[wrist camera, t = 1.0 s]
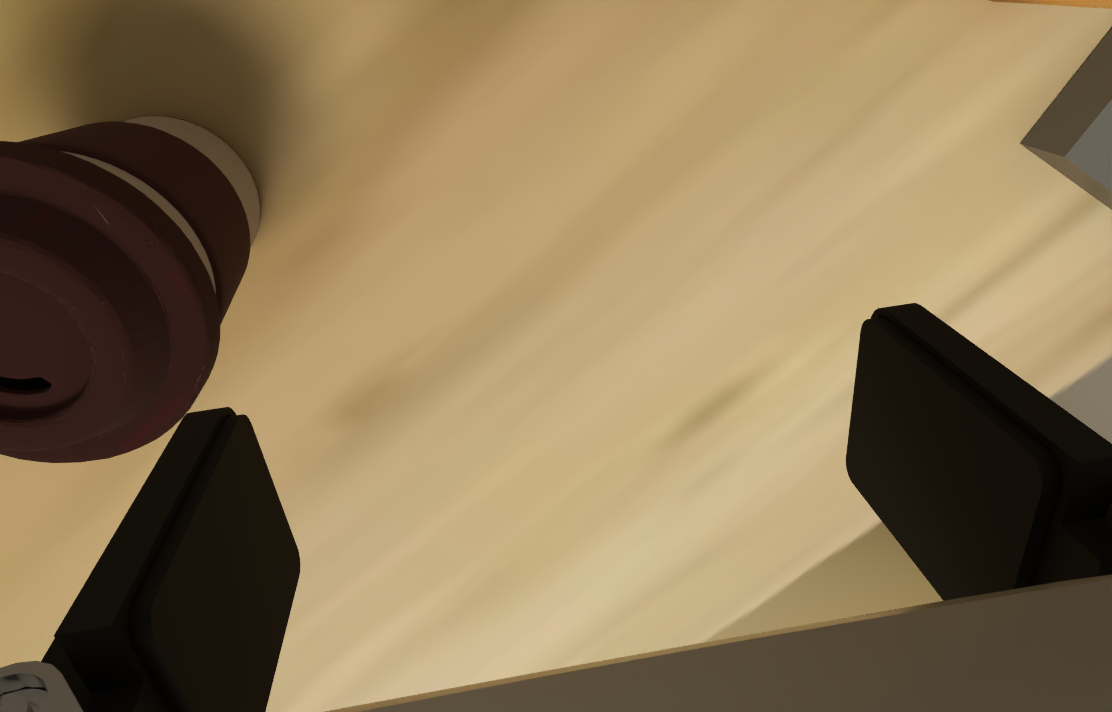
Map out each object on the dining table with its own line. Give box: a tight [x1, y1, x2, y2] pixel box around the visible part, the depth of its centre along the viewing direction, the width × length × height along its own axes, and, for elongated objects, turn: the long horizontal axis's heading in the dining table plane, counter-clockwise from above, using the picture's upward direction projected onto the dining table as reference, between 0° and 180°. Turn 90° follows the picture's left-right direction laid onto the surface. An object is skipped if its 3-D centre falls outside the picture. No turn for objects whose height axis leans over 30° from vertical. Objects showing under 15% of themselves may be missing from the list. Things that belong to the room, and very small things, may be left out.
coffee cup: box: [0, 116, 260, 463], centre depth 26 cm, size 10×10×15 cm
